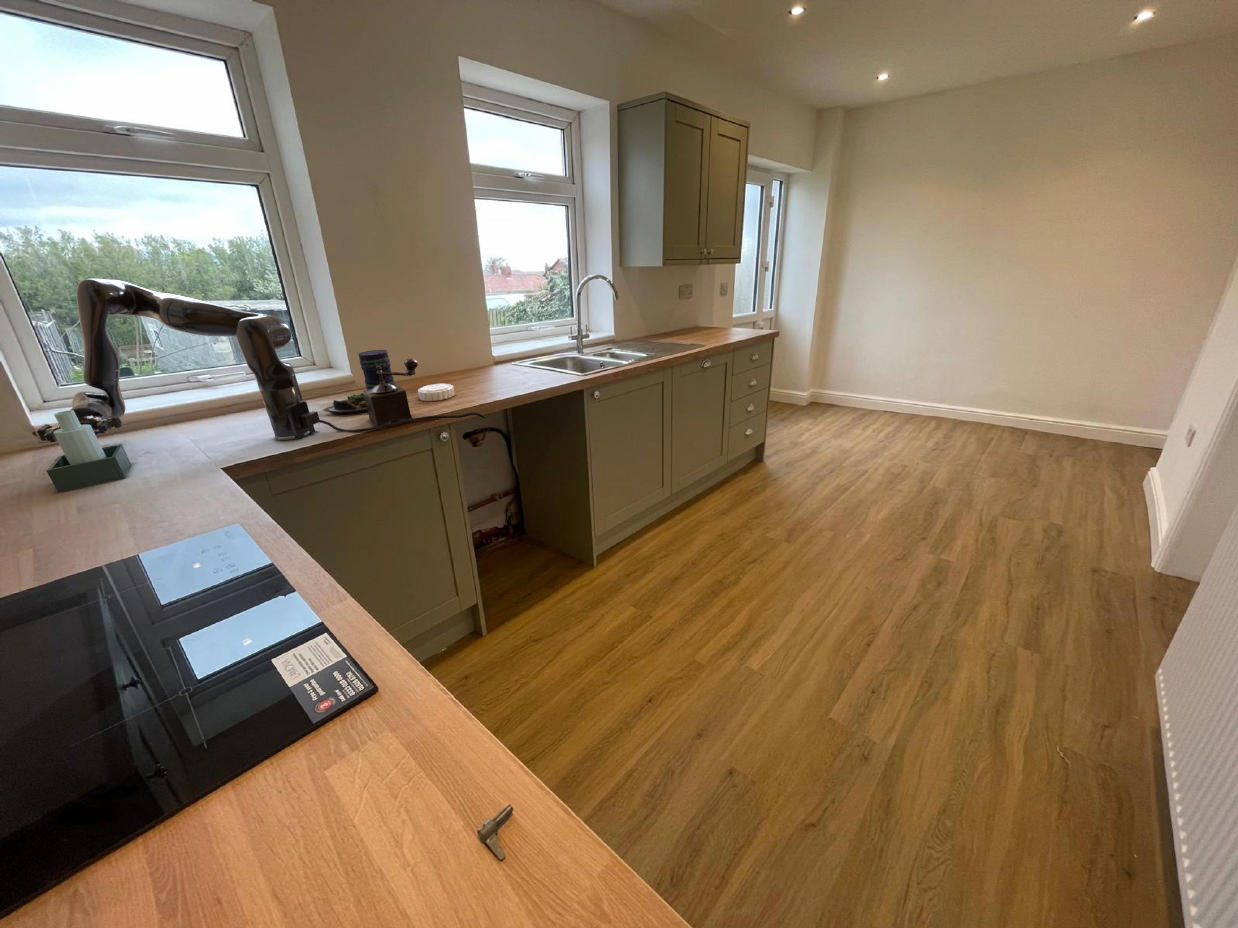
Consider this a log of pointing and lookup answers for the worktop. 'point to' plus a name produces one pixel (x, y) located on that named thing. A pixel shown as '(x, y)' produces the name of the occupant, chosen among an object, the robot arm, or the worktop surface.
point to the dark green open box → (89, 470)
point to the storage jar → (375, 367)
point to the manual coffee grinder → (389, 398)
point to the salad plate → (349, 406)
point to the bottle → (77, 439)
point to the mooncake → (436, 392)
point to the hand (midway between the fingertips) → (76, 433)
